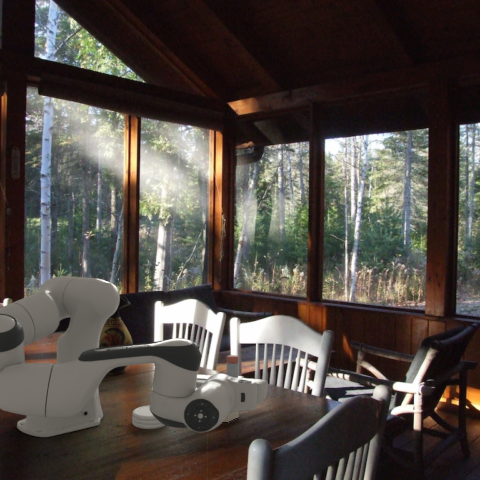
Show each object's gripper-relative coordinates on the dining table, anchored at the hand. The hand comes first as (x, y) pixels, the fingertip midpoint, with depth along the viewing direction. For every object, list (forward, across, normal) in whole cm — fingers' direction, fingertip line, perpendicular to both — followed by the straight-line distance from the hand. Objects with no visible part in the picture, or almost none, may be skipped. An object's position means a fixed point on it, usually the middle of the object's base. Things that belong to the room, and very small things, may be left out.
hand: (232, 378), depth 137 cm
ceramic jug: (+48, -58, -15) cm, 76 cm away
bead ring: (+12, -7, -14) cm, 20 cm away
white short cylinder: (+2, -23, -15) cm, 27 cm away
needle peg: (-1, 0, -8) cm, 8 cm away
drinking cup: (+40, -25, -15) cm, 50 cm away
